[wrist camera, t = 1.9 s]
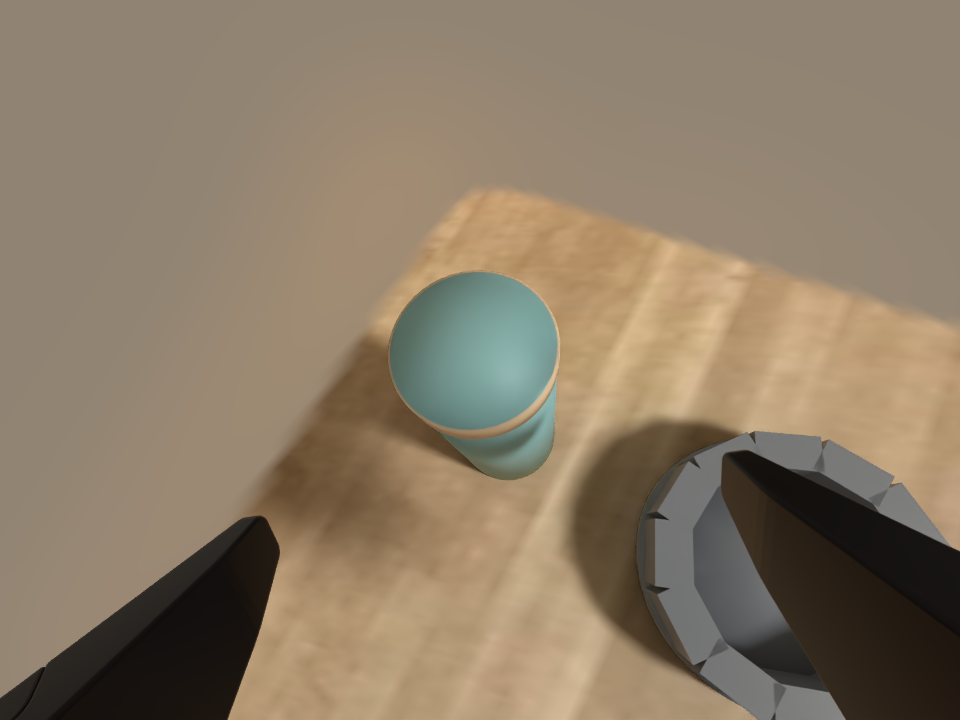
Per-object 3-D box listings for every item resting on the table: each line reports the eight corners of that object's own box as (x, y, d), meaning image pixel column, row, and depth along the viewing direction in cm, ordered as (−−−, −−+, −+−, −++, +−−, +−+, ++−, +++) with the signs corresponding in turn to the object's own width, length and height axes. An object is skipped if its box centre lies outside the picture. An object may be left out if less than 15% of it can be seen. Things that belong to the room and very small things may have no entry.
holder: (934, 743, 15) (1009, 784, 12) (633, 687, 16) (648, 714, 14) (886, 453, 18) (938, 441, 15) (636, 431, 19) (649, 416, 17)
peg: (551, 486, 19) (553, 441, 10) (455, 475, 20) (372, 423, 11) (558, 391, 21) (565, 273, 11) (467, 384, 21) (404, 267, 12)
